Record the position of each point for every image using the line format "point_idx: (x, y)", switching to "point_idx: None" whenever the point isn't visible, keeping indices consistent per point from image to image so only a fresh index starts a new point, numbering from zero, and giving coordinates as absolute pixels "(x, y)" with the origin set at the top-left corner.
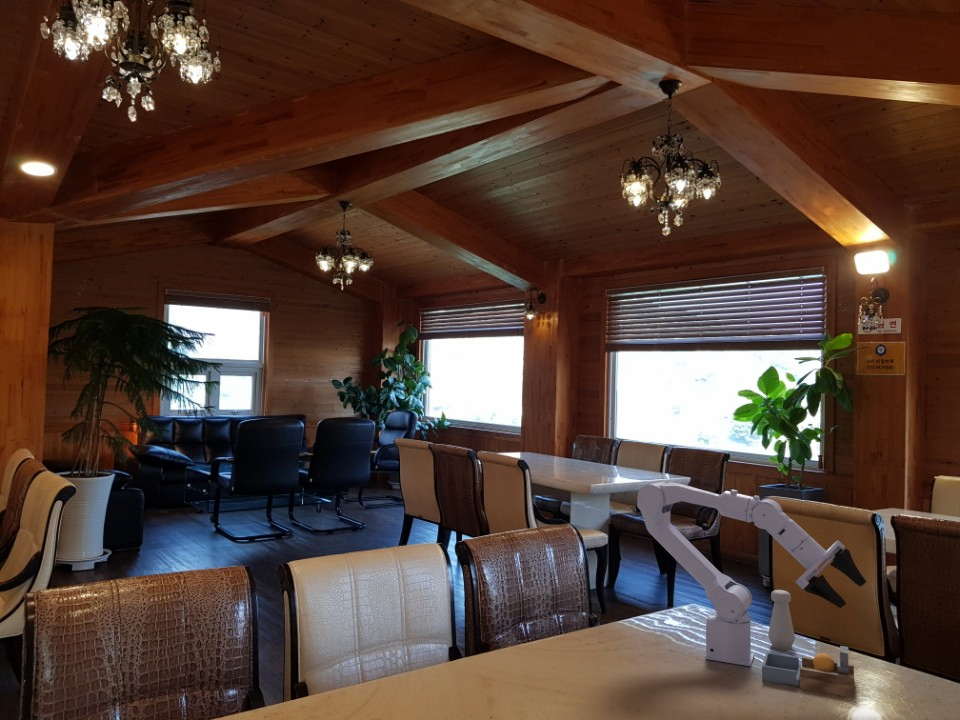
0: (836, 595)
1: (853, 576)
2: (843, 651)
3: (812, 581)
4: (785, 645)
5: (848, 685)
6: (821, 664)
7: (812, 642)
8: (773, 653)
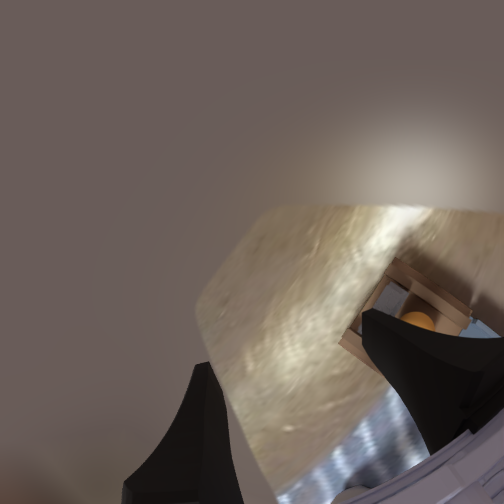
0: (402, 323)
1: (219, 417)
2: (390, 298)
3: (500, 388)
4: (364, 488)
5: (400, 267)
6: (429, 318)
7: (284, 498)
8: None
